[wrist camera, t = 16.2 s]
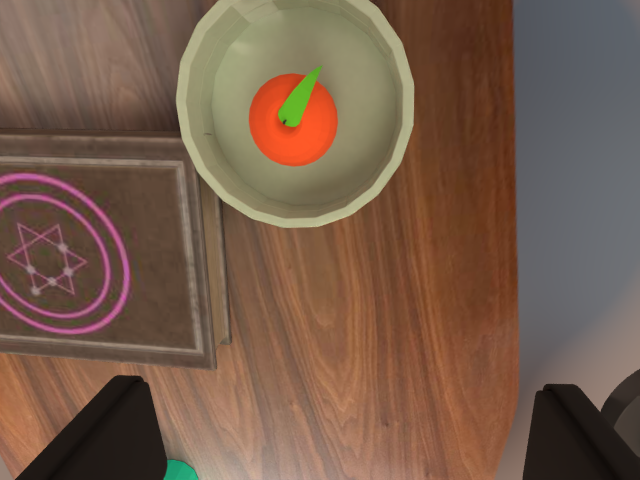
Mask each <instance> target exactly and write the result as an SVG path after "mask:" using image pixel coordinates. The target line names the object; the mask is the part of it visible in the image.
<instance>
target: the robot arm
mask: <svg viewBox="0 0 640 480" xmlns="http://www.w3.org/2000/svg"><path fill="white" fill-rule="evenodd" d="M167 464H168V463H167V457H166V453H165V449H164V445H163V441H162V437H161V433H160V429H159V425H158V420H157V416H156V412H155V408H154V404H153V400H152V396H151V392H150V388H149V385H148V383H147V382H144V380H143V378H142V377H141V376H126V375H118V376H115V377H113V378H112V379H111V380H110V381H109V382H108V383H107V384H106V385H105V386H104V387H103V388H102V389H101V390H100V392H99V393H98V394H97V395H96V396H95V397H94V398H93V399H92V400H91V401H90V402H89V403H88V404H87V405H86V406H85V407H84V408H83V409H82V410H81V411H80V412H79V413H78V414H77V416H76V417H75V418H74V419H73V420H72V421H71V422H70V423H69V424H68V425H67V426H66V427H65V428H64V429H63V430H62V431H61V432H60V433H59V434H58V435H57V436H56V437H55V438H54V439H53V441H52V442H51V443H50V444H49V445H48V446H47V447H46V448H45V449H44V450H43V451H42V452H41V453H40V454H39V455H38V456H37V457H36V458H35V459H34V460H33V461H32V462H31V463H30V465H29V466H28V467H27V468H26V469H25V470H24V471H23V472H22V473H21V474H20V475H19V476H18V477H17V478H16V479H15V480H163V479H164V477H165V475H166V472H167ZM523 480H640V457H638V456H637V455H636V454H635V453H634V452H633V451H632V450H631V448H630V447H629V446H628V445H627V444H626V442H625V441H624V440H623V439H622V438H621V436H620V435H619V434H618V433H617V432H616V431H615V429H614V428H613V427H612V426H611V425H610V423H609V422H608V421H607V420H606V419H605V417H604V416H603V415H602V414H601V413H600V411H599V410H598V409H597V408H596V407H595V406H594V404H593V403H592V402H591V401H590V400H589V398H588V397H587V396H586V395H585V394H584V393H583V391H582V390H581V389H580V388H579V387H578V386H576V385H574V384H546V385H545V386H544V388H543V391H537V392H536V395H535V401H534V408H533V414H532V420H531V427H530V433H529V439H528V446H527V452H526V459H525V465H524V472H523Z"/></svg>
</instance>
